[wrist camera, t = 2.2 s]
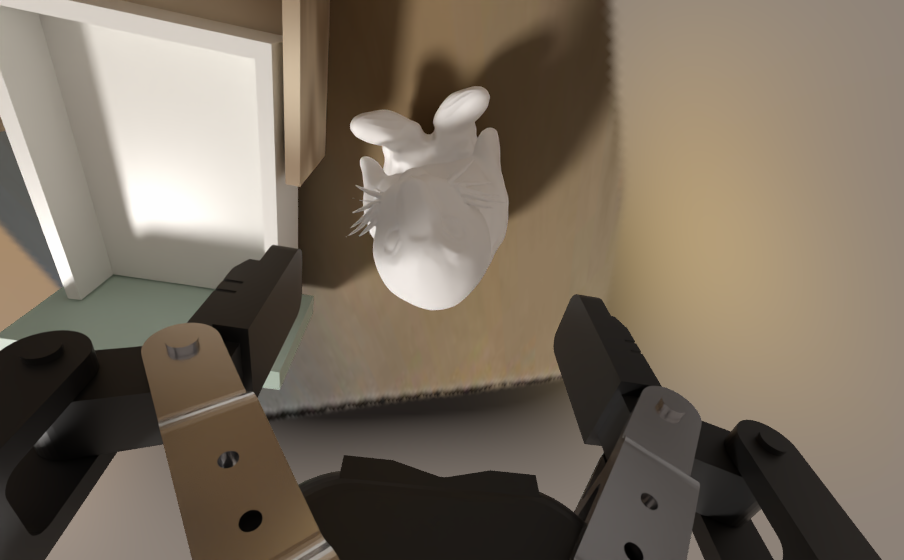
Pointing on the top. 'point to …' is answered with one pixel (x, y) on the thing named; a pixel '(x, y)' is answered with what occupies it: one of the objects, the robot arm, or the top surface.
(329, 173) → the top surface
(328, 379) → the top surface
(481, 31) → the top surface
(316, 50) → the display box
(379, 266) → the white rounded figure
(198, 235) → the drawer
